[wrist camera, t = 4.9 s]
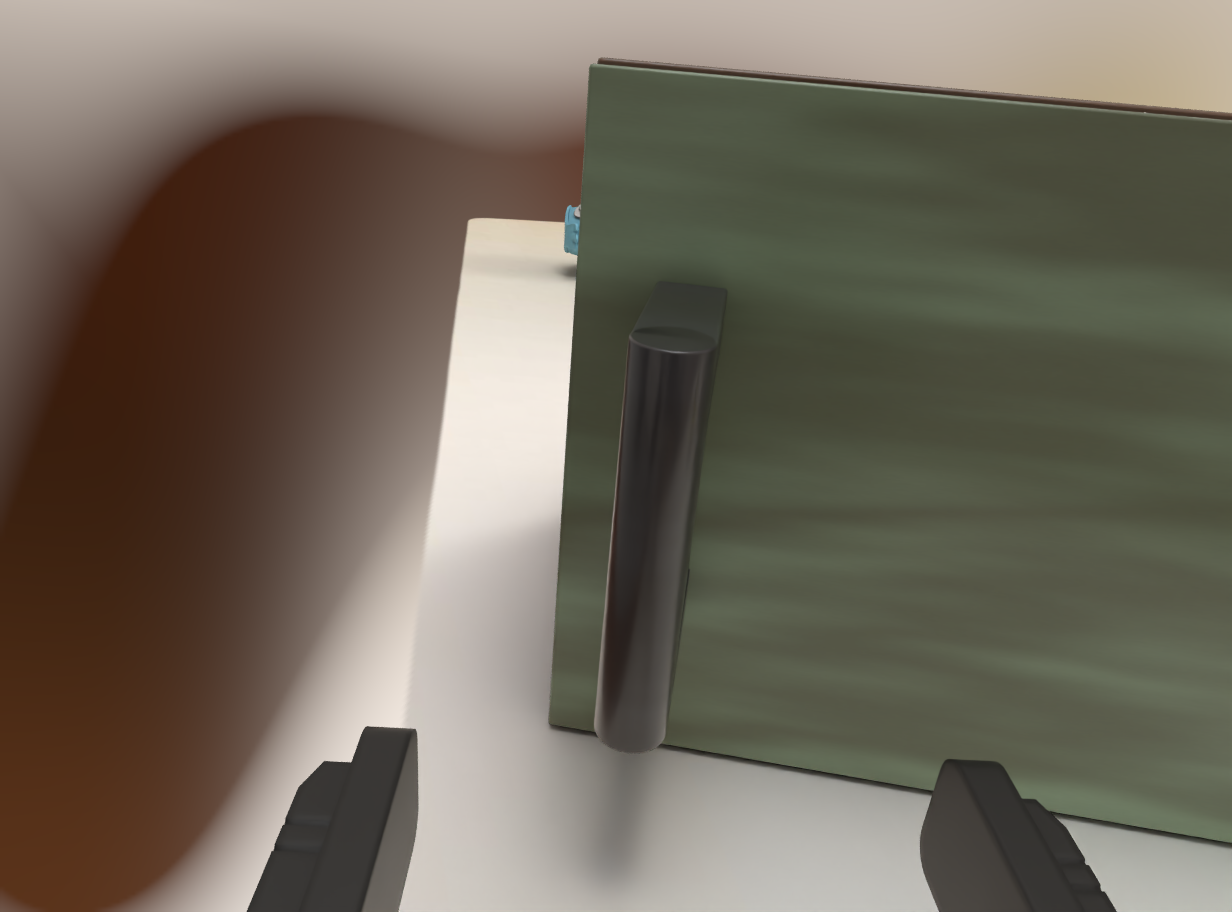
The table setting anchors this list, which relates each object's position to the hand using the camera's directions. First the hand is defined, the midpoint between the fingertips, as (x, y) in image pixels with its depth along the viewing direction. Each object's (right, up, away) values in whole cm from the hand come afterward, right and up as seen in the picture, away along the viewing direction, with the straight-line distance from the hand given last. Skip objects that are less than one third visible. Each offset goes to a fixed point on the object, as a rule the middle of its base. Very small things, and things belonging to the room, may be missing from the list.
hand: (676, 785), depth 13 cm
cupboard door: (+8, -6, +12) cm, 16 cm away
